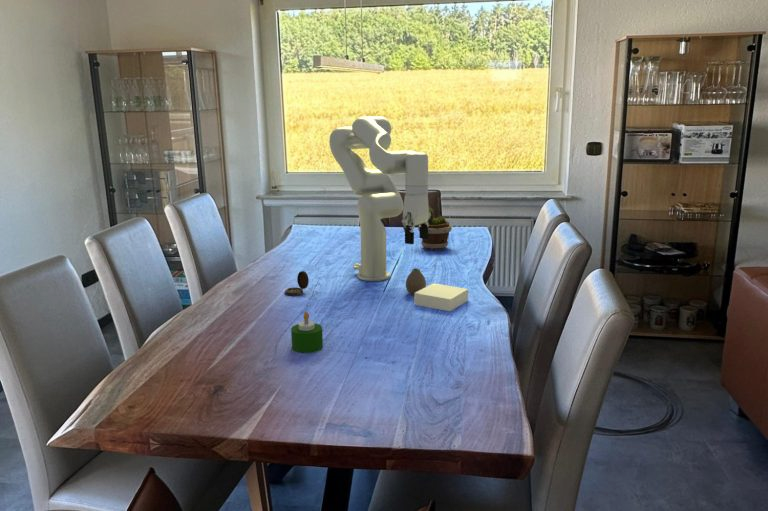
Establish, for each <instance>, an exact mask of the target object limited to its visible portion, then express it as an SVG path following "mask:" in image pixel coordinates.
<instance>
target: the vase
mask: <svg viewBox="0 0 768 511" xmlns="http://www.w3.org/2000/svg"><path fill="white" fill-rule="evenodd" d="M425 287H427V282H426V277H425V276H424V274H423V273H422V271H421V270H420V269H419V268H412V270H411V272H410V273H409V274H408V276H407V277H406V280H405V288H406V291H407V292H408V294H409V295H411V296H414V293H415V292H417V291H419V290H421V289H423V288H425Z"/></svg>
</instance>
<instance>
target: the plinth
mask: <svg viewBox="0 0 768 511" xmlns="http://www.w3.org/2000/svg"><path fill="white" fill-rule="evenodd" d="M413 296H414V298H413V299H414V305H415V306H419V307H426V308H430V309H435V310H441V311H446V312H451V311H454V310H455V309H457V308H459V307H460V306H462V305H464V304H465V303H466V302H468V301H469V288H464V287H459V286H453V285H452V286H451V285H446V284H440V283H434V282H433V283H432V284H429V285H426V287H425V288H423V289H421V290H419V291H417V292H415V293H414V295H413Z"/></svg>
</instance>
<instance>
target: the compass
mask: <svg viewBox="0 0 768 511" xmlns="http://www.w3.org/2000/svg"><path fill="white" fill-rule="evenodd" d="M296 278H297V281H296V282H297V285H298V287H297V286H296V287H288V288H287V289H285V290H284V294H285V295H287V296H299V295H300V296H301V295H303V293H304V289H307V288H308V286H309V281H310V279H309V274H308V273H307V272H306V271H305V270H301V271H299V272H298V274H297V276H296Z"/></svg>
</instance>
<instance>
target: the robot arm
mask: <svg viewBox="0 0 768 511" xmlns="http://www.w3.org/2000/svg"><path fill="white" fill-rule="evenodd" d="M391 133H392V125H391V123H390V120H388V119H387V118H386V117H384V116H380V115H379V116H378V115H377V116H360V117H358V118H356V119H355V120H354V121H353V122H352V125H351V126H341V127H338V128H335V129H334V130H332V131H331V133H330V134H329V140H328V142H329V148H330V152H331V154H332V157H333V158H334V159H335V161H336V162H337V164H338V165H339V167H340V168H341V170H342V172H343V174H344V176H345V178H346V179H347V180H346V181H347V182H348V184H349V186H350V188H351V190H352V192H353V193H354V194H355V195H356V196H360V198H358V201H357V204H356V205H357V213H358V219H359V227H360V228H359V231H360V263H357V262H356V263H354V265H353V270H357V271H358V273H356V277H357V278H358V280H361V281H366V282H367V281H368V282H381V281H385V280H388V279H390V278H391V275H392V274H391V272H389V271H387V230H386V227H385V226H384V223H383V222H382V220H381V219H387V218H393V217H394V218H395V217H398V216H399V215H401V214H402V220H401V224H402V228H403V232H404V244H406V245H407V244H408V245H414V244H415V232H414V229H415V227H416V226H418V227H419V225H420V226H421V227H419V229H418V232H419V235H418V236H419V239H421V240H422V239H428V227H429V221H430V215H431V213H430V212H429V207H430V205H429V196H428V195H429V156H428V154H427V153H426V152H419V151H418V152H417V151H414V150H392V151H388V150H389V148H390V146H391V145H392V138H391ZM360 149H361V150H362V149H368V153H369V154H368V156H369V159H370V162H371V164H372V165H373V167H375V168H376V169H369V168H368V167H367V166H366V164H365V162H364V160H363V159H362V158H361V156H360V155H358V154H357V153H356V152H354V151H353V150H360ZM399 174H404V178H405V179H404V181H405V184H404V185H405V186H404V188H405V190H404V192H405V195H404V200H403V197H402V196H401V194H400V191H399V190H398V188H397V186H396V184H395V182H394V180H393V178H392V176H391V175H399Z"/></svg>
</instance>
